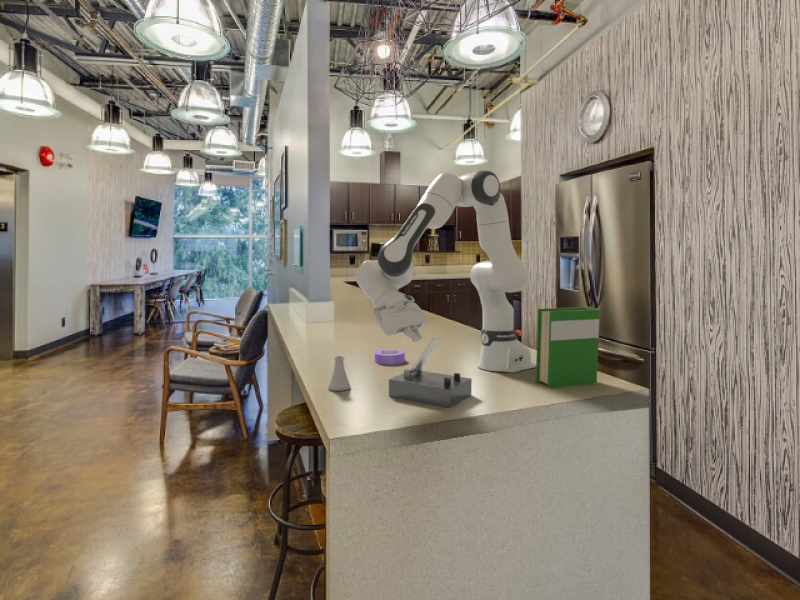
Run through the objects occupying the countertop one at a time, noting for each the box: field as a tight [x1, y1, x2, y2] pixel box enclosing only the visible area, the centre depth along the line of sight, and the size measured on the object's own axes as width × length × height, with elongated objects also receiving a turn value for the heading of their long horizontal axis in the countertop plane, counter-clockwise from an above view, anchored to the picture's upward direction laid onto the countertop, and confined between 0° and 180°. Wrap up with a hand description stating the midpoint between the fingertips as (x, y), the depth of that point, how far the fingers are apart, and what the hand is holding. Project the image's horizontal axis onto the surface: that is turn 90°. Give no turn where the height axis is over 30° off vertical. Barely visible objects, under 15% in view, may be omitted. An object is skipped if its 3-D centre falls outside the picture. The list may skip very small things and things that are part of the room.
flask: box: [327, 355, 351, 392], centre depth 148 cm, size 7×7×10 cm
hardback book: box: [535, 306, 601, 389], centre depth 154 cm, size 18×7×24 cm, turn 107°
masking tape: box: [374, 348, 406, 366], centre depth 186 cm, size 12×12×4 cm
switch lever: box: [410, 335, 442, 376], centre depth 141 cm, size 15×4×1 cm
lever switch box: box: [388, 366, 472, 409], centre depth 141 cm, size 20×14×8 cm
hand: (418, 340), depth 142 cm, fingers closed
